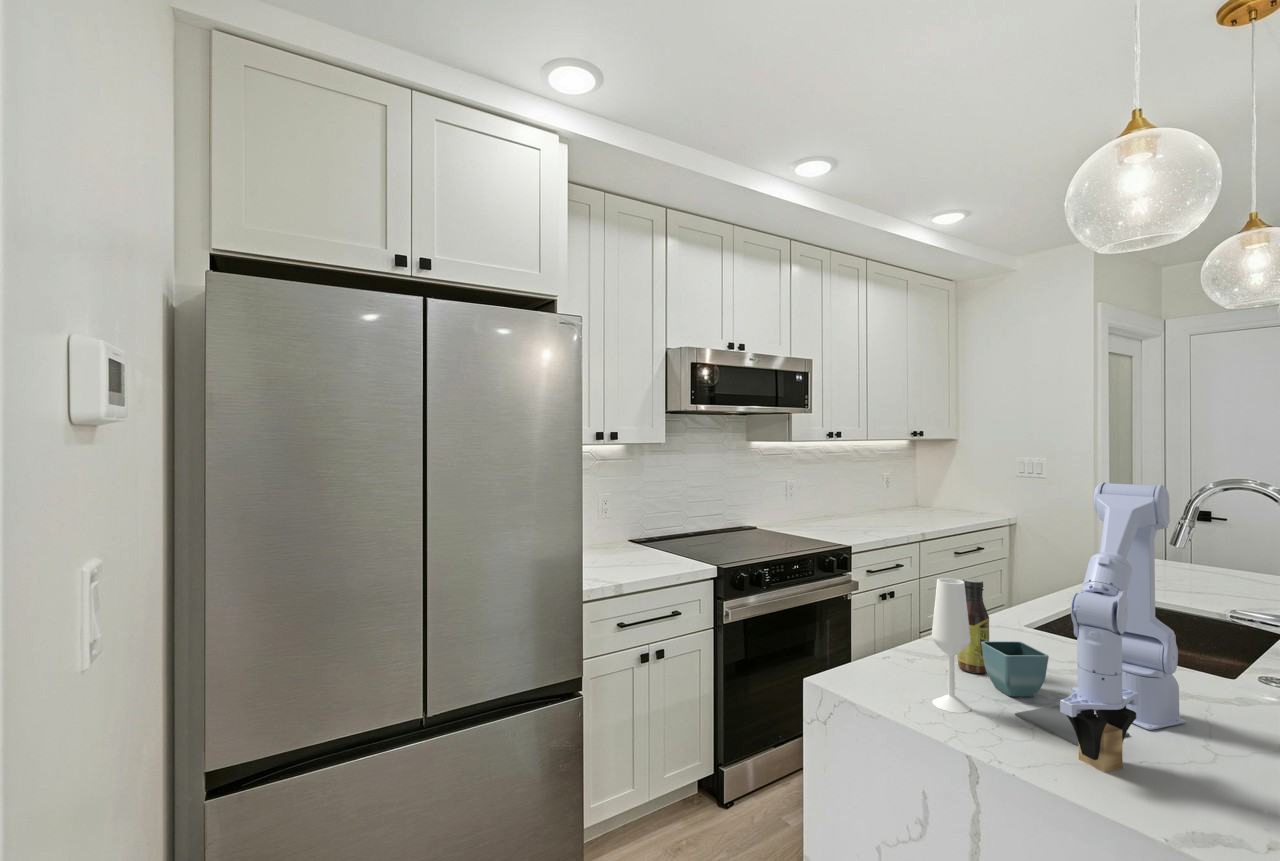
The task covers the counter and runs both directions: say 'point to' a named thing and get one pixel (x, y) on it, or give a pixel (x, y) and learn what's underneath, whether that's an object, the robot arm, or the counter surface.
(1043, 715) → the mat
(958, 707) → the champagne flute
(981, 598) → the sauce bottle
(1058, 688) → the counter surface
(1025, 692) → the flower pot
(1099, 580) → the robot arm
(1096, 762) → the oak block
